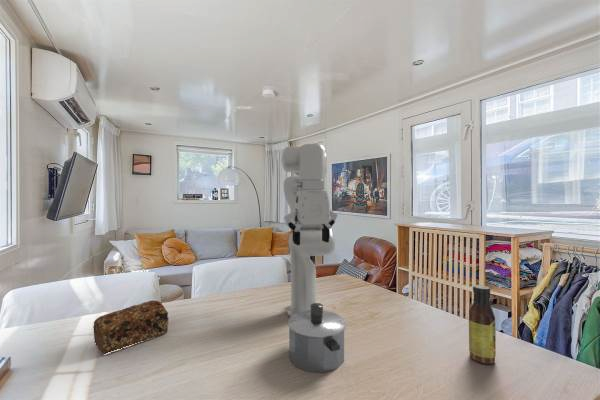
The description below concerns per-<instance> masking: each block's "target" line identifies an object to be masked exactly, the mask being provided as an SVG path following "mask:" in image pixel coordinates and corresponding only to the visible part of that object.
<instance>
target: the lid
mask: <svg viewBox="0 0 600 400" xmlns="http://www.w3.org/2000/svg"><path fill="white" fill-rule="evenodd" d="M287 323H288V329H289V328H290V330H291V331H293V332H294V333H296V334H298V335H301V336H304V337H309V338H328V337H333V336H336V335H338V334H340V333H342V332H343V331H344V332H345V329H346V320H345V319H344V317H343V316H341V315H340V314H338V313H335V312H334V311H333V312H332V311H330V310H329V311H328V310H324V305H323V304H322V303H319V302H316V303H313V304H311V310H307V311H302V312H298V313H296V314H294V315H292V316H291V317H290V316H289V318H288V321H287Z"/></svg>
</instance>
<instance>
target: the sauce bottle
mask: <svg viewBox="0 0 600 400" xmlns="http://www.w3.org/2000/svg"><path fill="white" fill-rule="evenodd" d="M472 291H473V303H472V304H471V306H470V307H469V310H468V351H469V356H470V358H471V359H472V360H473V361H475V362H478V363H480V364H486V365H491V364H494V363H495V362H496V355H497V354H496V352H497V350H496V348H497V347H496V346H497V345H496V338H497V337H496V336H497V335H496V334H497V333H496V332H497V331H496V316H495V313H494V311H493V308H492V305H491V302H490V298H491V297H490V294H491V288H490V287H489V286H486V285H482V284H481V285H480V284H474V285H472Z"/></svg>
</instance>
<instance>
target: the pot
mask: <svg viewBox="0 0 600 400" xmlns="http://www.w3.org/2000/svg"><path fill="white" fill-rule="evenodd" d="M288 329H289V330H288V331H289V334H288V335H289V342H288V343H289V345H288V350H289V353H288V355H289V356H288V359H289V360H290V362H291V363H292V364H293V366H294V367H296V368H297V369H300V370H303V371H304V372H307V373H318V374H319V373H320V374H323V373H327V372H331V371H334V370H338V369H339V367H340V366H341V365H342V364H344V362H345V330H344V331H343V332H342V333H340V334H338V335H336V336H333V337H328V338H309V337H304V336H301V335H298V334H296V333H294V332H293V331H291V330H290V328H289V327H288Z"/></svg>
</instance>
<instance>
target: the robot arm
mask: <svg viewBox="0 0 600 400" xmlns="http://www.w3.org/2000/svg"><path fill="white" fill-rule="evenodd" d="M325 151H326V149H325V146H324V145H323V144H320V143H305V144H302V145H300V146H298V145H297V146H295V145H294V146H286V147H285V148H283V151H282V154H281V165H282V168H283V170H284V171H285V172H289V173H293V174H295V175H290V176H287V177H286V178H285V179H284V181H283V193H284V197H285V201H286V202H287V205H288V207H289V210H290V211H289V212H290V213H287V215H284V217H283V218H284V221H285V223H286V225H287V227H288V228H289V229H290V230H291V231H292V233H290V235H289V237H288V247H289V255H290V272H291V273H290V306H289V307H288V308H287V309H286V314H287V316H288V317H289V318H290V317H291V316H292V315H294V314H296V313H298V312H302V311H307V310H311V304H313V303H317V268H316V265H315V263H314V262H313V260H312V259H311V258H310V257H313V256H314V257H315V256H316V257H317V256H322V257H324V256H330V255H332V254H333V253H334V251H335V249H336V242H335V235H334V231H333V227H332V226H333V225H334V224H335V223H336V220H337V217H338V214H337V213H335V212H333V211H332V210H330V209H331V208H330V200H329V194H328V190H325V181H326V174H327V152H325Z"/></svg>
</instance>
